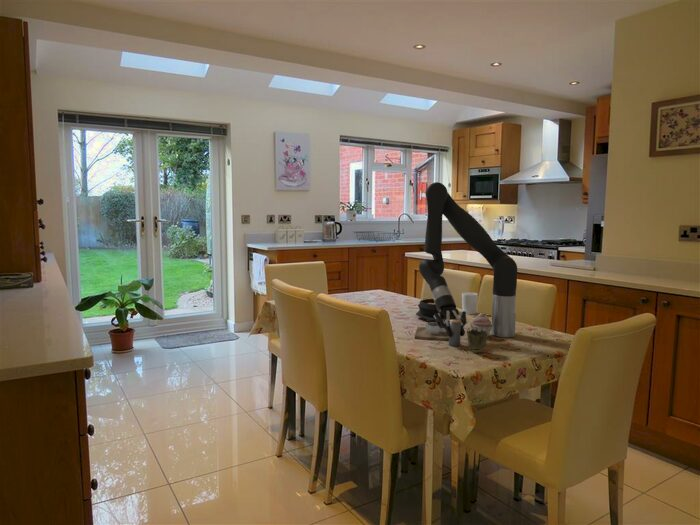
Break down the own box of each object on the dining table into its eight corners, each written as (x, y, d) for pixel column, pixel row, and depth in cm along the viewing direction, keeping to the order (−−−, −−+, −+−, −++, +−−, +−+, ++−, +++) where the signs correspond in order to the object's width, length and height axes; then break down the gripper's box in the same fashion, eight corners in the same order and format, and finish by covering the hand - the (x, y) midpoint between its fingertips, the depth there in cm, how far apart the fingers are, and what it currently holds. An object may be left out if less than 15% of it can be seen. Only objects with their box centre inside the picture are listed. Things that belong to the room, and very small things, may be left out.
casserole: (462, 324, 223) (462, 306, 222) (422, 325, 222) (423, 307, 221) (446, 312, 248) (446, 296, 247) (410, 313, 246) (411, 297, 245)
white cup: (458, 312, 248) (458, 293, 247) (470, 310, 252) (471, 292, 250) (468, 315, 241) (468, 295, 240) (480, 313, 244) (481, 294, 243)
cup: (464, 353, 178) (464, 332, 177) (469, 348, 185) (469, 328, 184) (484, 356, 175) (485, 334, 174) (488, 351, 181) (489, 330, 180)
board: (454, 331, 211) (454, 328, 211) (454, 340, 195) (454, 338, 195) (417, 329, 214) (417, 326, 214) (414, 338, 198) (414, 336, 198)
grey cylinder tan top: (460, 343, 191) (460, 319, 190) (460, 347, 187) (461, 321, 186) (448, 343, 192) (449, 318, 191) (448, 346, 188) (449, 321, 186)
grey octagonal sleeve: (444, 330, 207) (444, 322, 207) (444, 335, 200) (444, 327, 200) (426, 329, 209) (426, 321, 209) (425, 334, 202) (425, 326, 201)
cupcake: (482, 340, 196) (483, 316, 195) (465, 335, 204) (465, 312, 203) (497, 336, 201) (498, 313, 200) (480, 332, 209) (480, 309, 208)
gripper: (430, 294, 192) (443, 332, 182) (462, 293, 196) (477, 329, 186) (424, 305, 198) (437, 342, 188) (455, 303, 202) (470, 339, 192)
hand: (457, 335), depth 187 cm, fingers closed on grey cylinder tan top, 4 cm apart
